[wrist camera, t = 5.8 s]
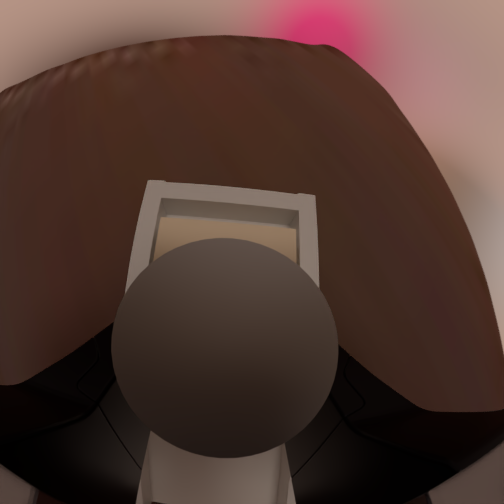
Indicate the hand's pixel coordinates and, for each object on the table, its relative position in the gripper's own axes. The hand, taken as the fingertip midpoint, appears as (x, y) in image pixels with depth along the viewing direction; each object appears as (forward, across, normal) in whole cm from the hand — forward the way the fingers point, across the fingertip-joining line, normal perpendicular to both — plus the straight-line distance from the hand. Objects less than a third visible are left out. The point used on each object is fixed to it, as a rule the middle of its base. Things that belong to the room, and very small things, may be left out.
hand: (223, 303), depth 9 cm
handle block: (+4, 0, +4) cm, 6 cm away
